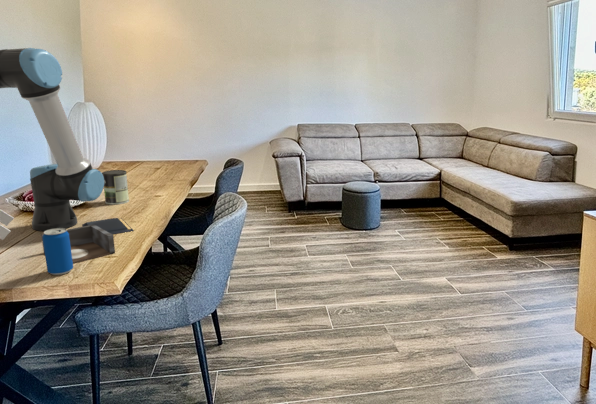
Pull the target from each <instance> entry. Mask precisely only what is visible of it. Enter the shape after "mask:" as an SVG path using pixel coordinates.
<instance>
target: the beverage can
mask: <svg viewBox="0 0 596 404" xmlns="http://www.w3.org/2000/svg"><path fill="white" fill-rule="evenodd" d="M67 230H68V229H67V228H55V229H50V230H47V231H43V234H44V235H43V234H42V235H43V237H41V239H42V238H43V243H42V246H43V245H44V250H43V252H44V251H45V253H44V256H45V263H46V271H47V273H49V274H51V275H53V276H61V275H65V274H68V273H70V272H71V271H72V270H73V269H74V264H73V261H72V253H71V246H70V239H69V233H68V232H67Z"/></svg>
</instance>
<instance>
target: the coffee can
mask: <svg viewBox="0 0 596 404" xmlns="http://www.w3.org/2000/svg"><path fill="white" fill-rule="evenodd" d="M101 173H102V174H103V177H104V187H103V191H104V192H103V193H104V200H105V205H113V206H115V205H122V204H123V205H124V204H128V203H129V201H130V198H129V187H128V186H129V185H128V179H127V170H123V169H111V170H105V171H103V172H101Z"/></svg>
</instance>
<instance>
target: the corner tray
mask: <svg viewBox="0 0 596 404" xmlns="http://www.w3.org/2000/svg"><path fill="white" fill-rule="evenodd" d="M66 230H67V232H68V233H69V239H70V246H71V253H72V261H73V265H74V264H77V263H82V262H85V261H89V260H93V259H97V258H101V257H105V256H108V255H113V254H116V247H115V239H114V235H112V234H111V233H109V232H107V231H105V230H103V229H102V228H100V227H98V226H96V225H94V224H93V225H88V226H79V227H73V228H67V229H66ZM43 235H44V233H43V234H41V236H40V237H41V243H42V249H43V250H42V251H43V254H45V251H44V245H43V238H42V237H43Z"/></svg>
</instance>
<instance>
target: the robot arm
mask: <svg viewBox="0 0 596 404" xmlns="http://www.w3.org/2000/svg"><path fill="white" fill-rule="evenodd" d="M62 75H63V70H62V66H61V64H60V62H59V61H58V59H57V57H56V56H54V55H53V54H52V53H51V52H49V51H47V50H46V49H43V48H36V47H35V48H34V47H28V48H26V47H25V48H13V49H11V48H10V49H8V48H5V49H3V48H2V49H0V89H8V88H9V89H10V88H11V89H12V88H15V89H17V90H18V93H19V95H20V97H21V98H22V99H24V100H26V101H28V102H29V104H30V106H31V109H32V112H33V114H34V116H35V118H36V120H37V123H38V125H39V127H40V129H41V131H42V133H43V135H44V138H45V139H46V143H47V145H48V148H49V149H50V151H51V153H52V156H53V158H54V160H55V162H56V163H51V164H46V165H41V166H36V167H33V168H30V171H29V176H30V178H29V180H30V186H31V193H32V198H33V203H34V211H33V214H32V220H31V227H32V230H34V231H39V232H45V231H47V230H50V229H55V228H65V229H69V228H72V227H73V226H75V225H77V224H78V216H77V215H76V213H75V211H74V209H73V207H72V205H71V202H70V201H77V202H82V203H85V202H93V201H96V200H97V199H99V197H100V196H101V194H102V193H103V191H104V177H103V174H102V172H101V171H100V170H99V169H97V168H93V166H92V163H91V161H90V160H89V159H87V158H84V156H83V153H82V151H81V148H80V146H79V144H78V141H77V139H76V137H75V134H74V132H73V129H72V126H71V124H70V121H69V120H68V117H67V115H66V112H65V109H64V107H63V104H62V102H61V99H60V97H59V95H58V94H59V92H60V90H61V86H60V84H61V83H62V79H63V77H62ZM13 220H15V217H14V216H12V215H10V214H9V213H7V212H5V211H4V210H3V209H1V208H0V240H2V241H3V240H5V238H6V237H7V236H8V235H9V234H10V233H11V230H10V229H9V228H7V227H8V225H9V224H10V223H11V222H12V221H13ZM3 225H4V226H3ZM5 226H6V227H5Z"/></svg>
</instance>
